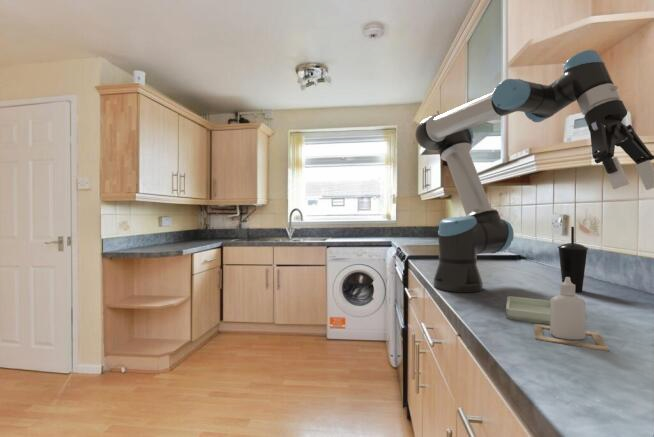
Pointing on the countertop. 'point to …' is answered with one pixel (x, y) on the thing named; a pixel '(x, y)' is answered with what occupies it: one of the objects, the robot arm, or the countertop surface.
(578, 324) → the eye dropper bottle
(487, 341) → the countertop surface
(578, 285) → the drinking cup
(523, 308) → the tray
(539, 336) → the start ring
